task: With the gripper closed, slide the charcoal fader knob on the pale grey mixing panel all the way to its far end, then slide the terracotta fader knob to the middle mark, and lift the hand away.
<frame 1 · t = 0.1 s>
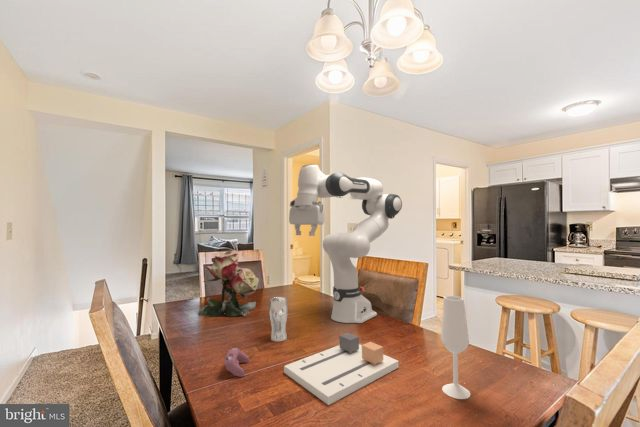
hand: (304, 235, 120), 39 cm above the table, tool pointing down, fingers open, 8 cm apart
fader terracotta: (372, 352, 88), point 5 cm above the table, slide at 0.0 cm
beer glass: (278, 339, 111), on the table
video game controller: (236, 370, 88), on the table
champagne flute: (456, 392, 75), on the table
rose bouquet: (232, 309, 150), on the table
fader panel: (342, 370, 87), on the table
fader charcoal: (349, 342, 96), point 5 cm above the table, slide at 0.0 cm
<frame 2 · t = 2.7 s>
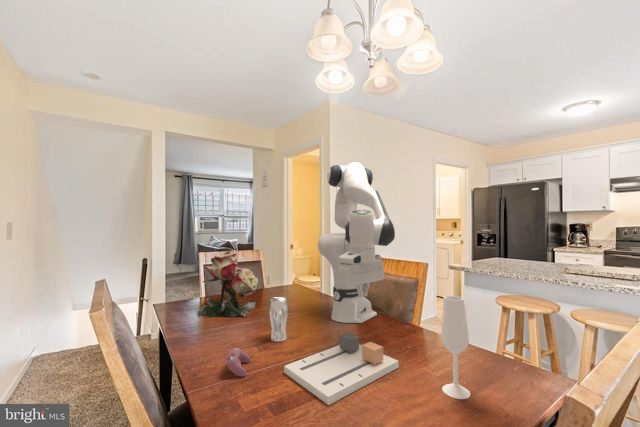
hand: (362, 296, 101), 18 cm above the table, tool pointing down, fingers closed
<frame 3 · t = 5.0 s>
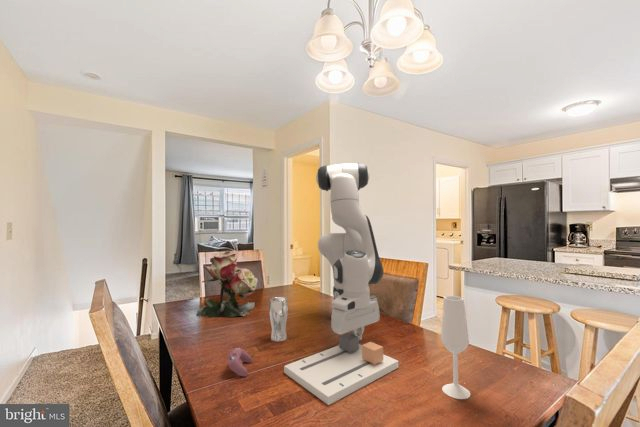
hand: (357, 340, 98), 4 cm above the table, tool pointing down, fingers closed
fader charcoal: (348, 342, 96), point 5 cm above the table, slide at 0.1 cm, touching gripper
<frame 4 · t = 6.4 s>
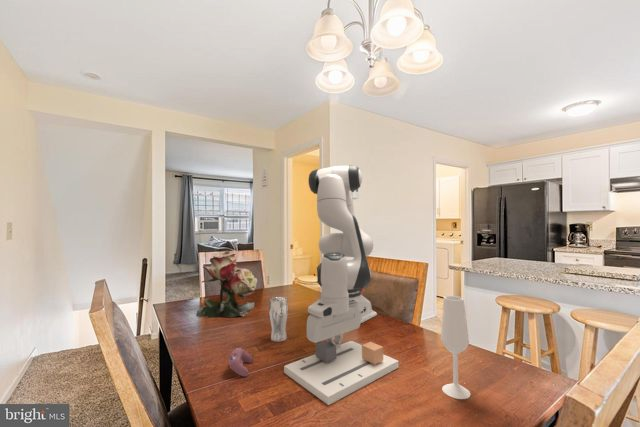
hand: (335, 348, 92), 4 cm above the table, tool pointing down, fingers closed
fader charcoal: (325, 351, 90), point 5 cm above the table, slide at 10.0 cm, touching gripper
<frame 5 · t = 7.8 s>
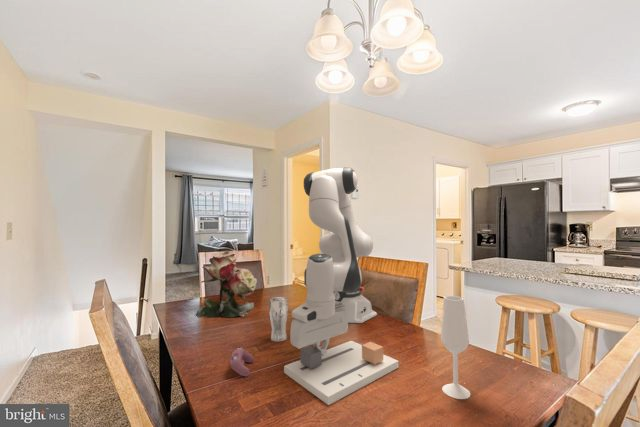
hand: (321, 354, 88), 4 cm above the table, tool pointing down, fingers closed
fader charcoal: (310, 356, 86), point 4 cm above the table, slide at 15.8 cm, touching gripper
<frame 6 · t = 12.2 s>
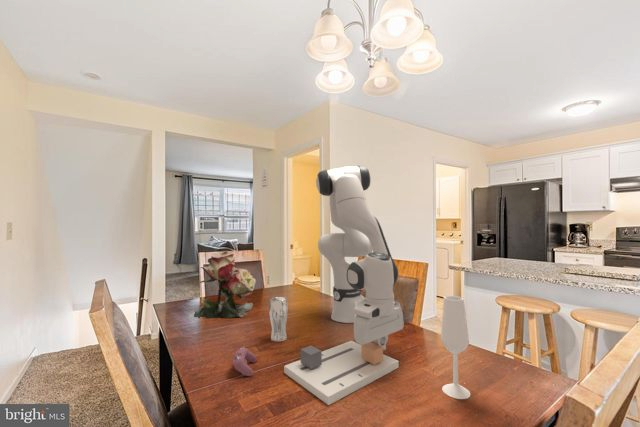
hand: (380, 350, 90), 4 cm above the table, tool pointing down, fingers closed
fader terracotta: (372, 352, 88), point 4 cm above the table, slide at 0.1 cm, touching gripper
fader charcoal: (310, 356, 86), point 4 cm above the table, slide at 15.8 cm
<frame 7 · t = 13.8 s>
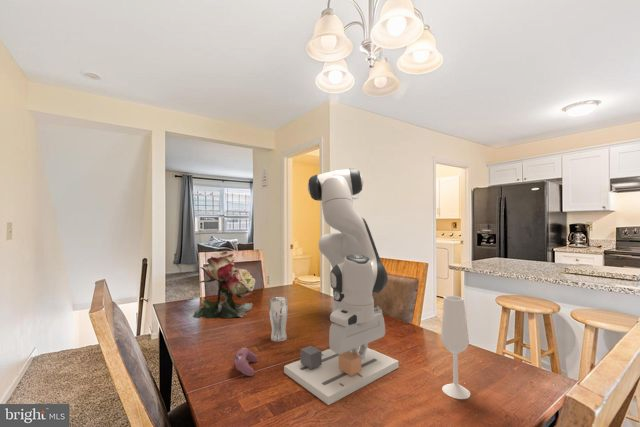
hand: (359, 359, 84), 4 cm above the table, tool pointing down, fingers closed
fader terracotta: (349, 362, 82), point 5 cm above the table, slide at 9.7 cm, touching gripper
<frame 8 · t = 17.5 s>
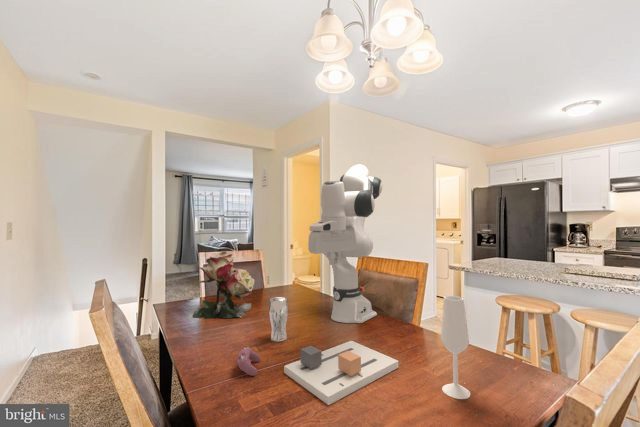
hand: (334, 264, 104), 29 cm above the table, tool pointing down, fingers closed
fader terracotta: (349, 362, 82), point 5 cm above the table, slide at 9.8 cm
at the end: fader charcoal slide at 15.8 cm; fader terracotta slide at 9.8 cm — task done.
